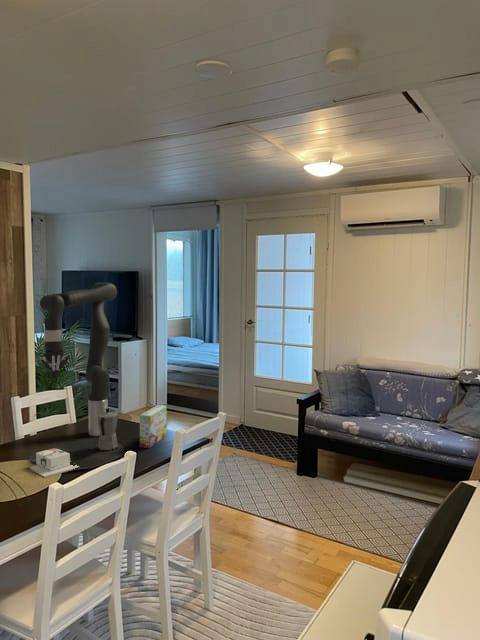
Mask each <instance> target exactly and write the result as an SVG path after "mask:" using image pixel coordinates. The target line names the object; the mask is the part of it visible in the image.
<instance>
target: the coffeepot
mask: <svg viewBox="0 0 480 640" xmlns="http://www.w3.org/2000/svg"><path fill="white" fill-rule="evenodd" d="M97 417H98V423H99V429H100V435H99V436H98V437H99V438H98V443H97V449H98V448H102V449H111V448H115V447H118V448H119V445H118V443H119V442H118V438H117V434H116V429H117V427H118V426H117V425H118V418H119V414H118V413H117V412H113V411H110V408H107V409H106V412H105V413H101V414H98V415H97Z"/></svg>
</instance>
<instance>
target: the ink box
mask: <svg viewBox="0 0 480 640" xmlns="http://www.w3.org/2000/svg"><path fill="white" fill-rule="evenodd" d="M35 461H36V462H35V463H36V464H35V465H40V466H42V467H44V468H46V469H48V470H50V471H52V470H56V469H59V468H62V467H66V466H69V465H70V462H71V454H70V453H69V452H67V451H64V450H61V449H59V448H57V447H53V448H50V449H46V450H42V451H38V452H35Z"/></svg>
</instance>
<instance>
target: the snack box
mask: <svg viewBox="0 0 480 640" xmlns="http://www.w3.org/2000/svg"><path fill="white" fill-rule="evenodd" d="M167 413H168V412H167V405H162V404H161V405H160V404H158V405H157V404H156V405H155V406H154V407H152V408H150V409H148V410H147V411H145V412H143V413H141V414H140V415H139V448H142V449H151V448H152V447H153V446H155V444H156V445H157V443H158V442H159V441H161V440H162V439H163V438H165V437H166V436H167V418H168V417H167V415H168V414H167Z"/></svg>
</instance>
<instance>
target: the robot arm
mask: <svg viewBox="0 0 480 640" xmlns="http://www.w3.org/2000/svg"><path fill="white" fill-rule="evenodd" d="M117 294H118V290H117V287H116V285H115V284H113V283H111V282H95V284H93V285H92V287H91V288H90V289H77V290H69V291H65V292H61V293H52V294H44V296H42V297H41V298H40V300H39V305H40V308H41V309H42V310H44V311H45V312H46V311H47V312H49V315H48V316H46V317H44V321H43V324H44V334H43V340H44V341H43V342H44V343H43V344H44V353H43V357H42V358H39V360H38V361H39V363H40V364H41V365H42V366H43V367H44V368H45V369H46V370H48V371H50V378H52V380H57V379H58V378H59V376H60V375H59V371H60V370H61V369H63V368H64V367H65V365H66V364H67V362H68V360H69V358H70V357H69V356H67V355H65V353H64V346H63V345H64V344H63V332H62V331H63V330H62V319H63V314H64V309H65V308H72V307H76V306H80V305H86V304H89V303H91V315H90V316H91V318H90V330H89V346H88V358H87V359H88V360H87V364H86V369H85V380H86V382H87V383H88V384H89V385H91V389H90V393H88V394H87V395H88V396H87V398H88V400H87V402H88V403H87V405H88V406H87V407H88V411H87V412H88V413H87V414H88V435H89V436H91V437H92V436H93V437H99V435H100V429H99V423H98V417H97V415H98V414H101V413H105V412H106V409H107V408H108V407H109V404H108V397H109V393H110V374H109V373H110V372H109V371H108V370H107V369H106V368H104V367H103V356H104V353H105V351H106V349H107V346H108V344H109V341H110V329H111V328H110V325H109V322H108V319H107V317H106V313H105V302H111V301H113V300H114V299H116V297H117ZM47 362H48V363H47Z"/></svg>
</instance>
